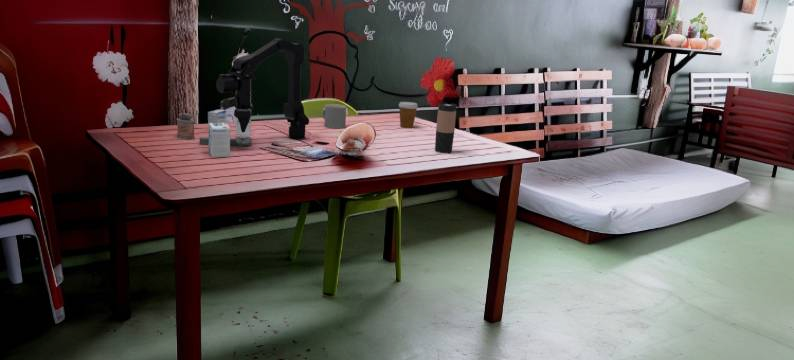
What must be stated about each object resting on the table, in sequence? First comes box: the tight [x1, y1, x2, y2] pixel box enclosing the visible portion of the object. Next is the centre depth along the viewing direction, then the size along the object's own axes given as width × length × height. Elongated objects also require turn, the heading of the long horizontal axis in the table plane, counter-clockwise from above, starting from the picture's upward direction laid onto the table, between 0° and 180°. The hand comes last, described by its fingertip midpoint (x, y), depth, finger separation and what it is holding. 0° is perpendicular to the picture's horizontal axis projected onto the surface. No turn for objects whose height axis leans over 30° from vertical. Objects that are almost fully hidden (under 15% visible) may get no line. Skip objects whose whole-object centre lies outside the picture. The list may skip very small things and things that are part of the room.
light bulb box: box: [208, 122, 231, 158], centre depth 222 cm, size 11×7×11 cm, turn 23°
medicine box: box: [207, 109, 227, 131], centre depth 260 cm, size 8×4×9 cm, turn 168°
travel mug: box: [434, 102, 458, 154], centre depth 251 cm, size 8×8×20 cm
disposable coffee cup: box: [398, 101, 419, 129], centre depth 298 cm, size 10×10×12 cm
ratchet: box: [198, 135, 253, 148], centre depth 237 cm, size 20×6×6 cm, turn 102°
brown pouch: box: [176, 112, 196, 140], centre depth 243 cm, size 8×3×10 cm, turn 68°
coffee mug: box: [321, 103, 347, 130], centre depth 288 cm, size 13×10×10 cm
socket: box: [235, 119, 252, 136], centre depth 238 cm, size 6×6×5 cm
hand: (243, 130), depth 238 cm, fingers closed on socket, 6 cm apart
